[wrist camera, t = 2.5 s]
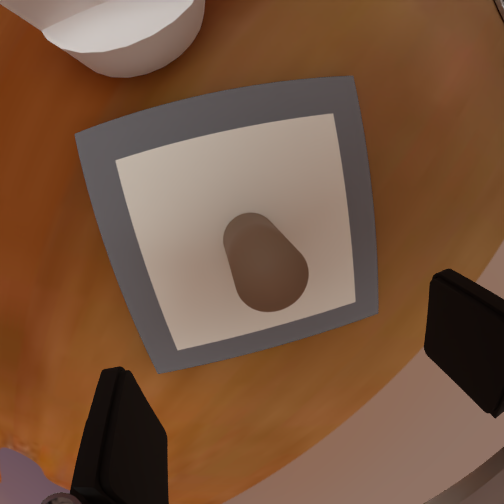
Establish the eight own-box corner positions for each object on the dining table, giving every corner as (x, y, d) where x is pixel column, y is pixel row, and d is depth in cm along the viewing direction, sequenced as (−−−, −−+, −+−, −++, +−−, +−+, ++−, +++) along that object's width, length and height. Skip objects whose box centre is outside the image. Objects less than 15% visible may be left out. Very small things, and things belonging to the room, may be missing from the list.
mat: (346, 78, 18) (353, 75, 18) (372, 307, 25) (378, 313, 24) (80, 134, 17) (74, 134, 16) (158, 365, 23) (157, 373, 22)
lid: (326, 114, 18) (387, 104, 12) (349, 295, 23) (398, 347, 16) (119, 159, 17) (78, 167, 10) (177, 342, 22) (175, 413, 15)
